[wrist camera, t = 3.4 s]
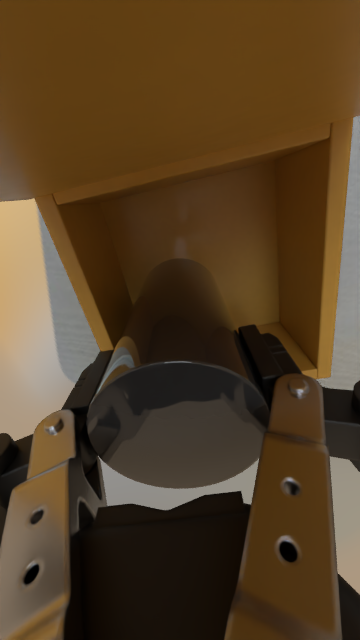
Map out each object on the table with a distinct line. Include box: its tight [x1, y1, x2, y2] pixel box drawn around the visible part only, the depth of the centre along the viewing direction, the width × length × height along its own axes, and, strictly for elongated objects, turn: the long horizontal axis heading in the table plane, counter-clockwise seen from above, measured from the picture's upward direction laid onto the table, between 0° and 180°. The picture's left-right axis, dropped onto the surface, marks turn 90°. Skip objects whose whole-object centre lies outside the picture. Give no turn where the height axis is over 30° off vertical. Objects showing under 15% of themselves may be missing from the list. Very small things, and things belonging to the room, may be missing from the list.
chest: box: [35, 117, 353, 380], centre depth 15 cm, size 13×13×7 cm
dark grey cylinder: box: [86, 258, 271, 489], centre depth 13 cm, size 6×6×12 cm
